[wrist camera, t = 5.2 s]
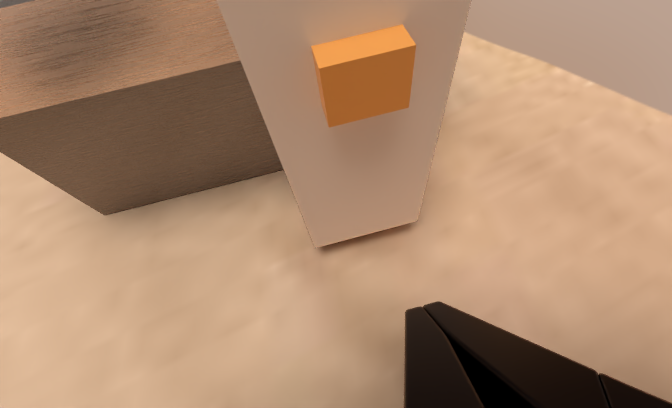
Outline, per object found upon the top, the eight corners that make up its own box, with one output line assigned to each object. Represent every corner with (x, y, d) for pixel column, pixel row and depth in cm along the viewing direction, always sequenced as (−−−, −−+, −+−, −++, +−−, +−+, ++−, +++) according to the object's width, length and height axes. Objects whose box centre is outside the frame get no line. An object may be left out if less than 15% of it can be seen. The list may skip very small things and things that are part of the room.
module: (424, 235, 14) (514, -59, 5) (318, 264, 14) (213, 11, 5) (390, 158, 17) (408, -132, 8) (300, 181, 17) (207, -88, 7)
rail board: (409, 151, 18) (538, -565, 4) (101, 230, 18) (-904, -319, 4) (377, 84, 21) (395, -476, 7) (113, 149, 21) (-427, -329, 7)
